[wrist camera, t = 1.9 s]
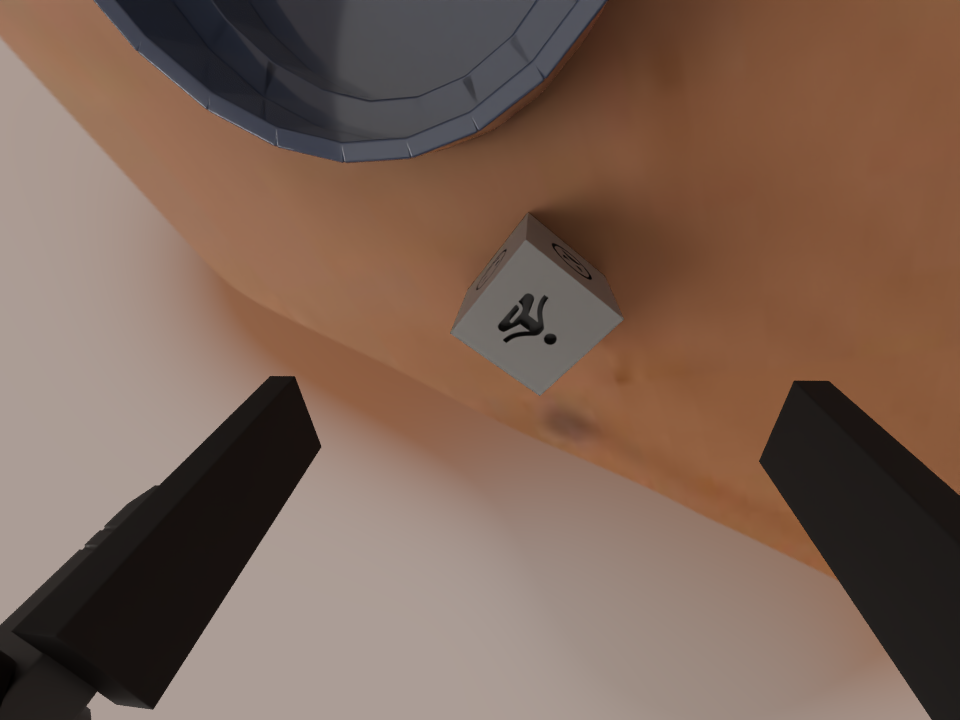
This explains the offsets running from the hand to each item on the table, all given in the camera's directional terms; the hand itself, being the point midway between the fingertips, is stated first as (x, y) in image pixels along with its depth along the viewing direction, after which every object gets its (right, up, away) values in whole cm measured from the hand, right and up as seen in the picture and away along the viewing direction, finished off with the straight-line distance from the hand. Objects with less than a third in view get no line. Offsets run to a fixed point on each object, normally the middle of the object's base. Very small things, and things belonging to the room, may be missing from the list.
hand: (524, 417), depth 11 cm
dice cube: (+2, +6, +9) cm, 11 cm away
